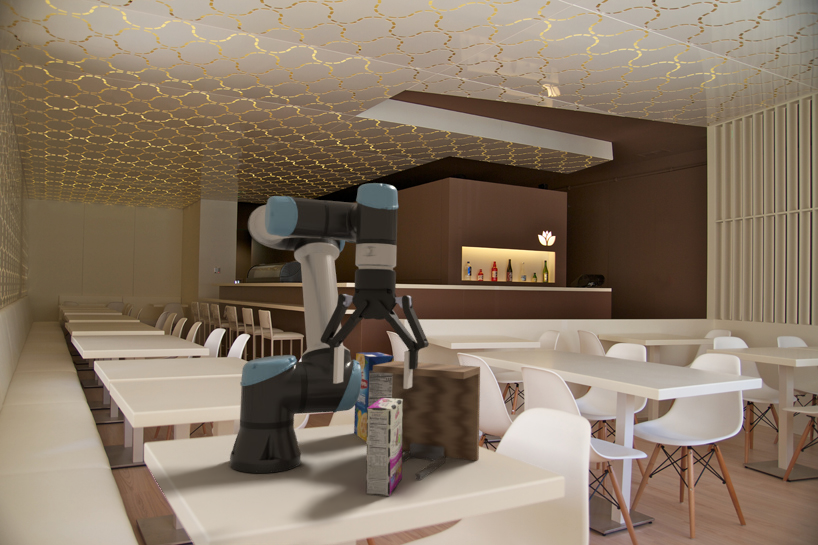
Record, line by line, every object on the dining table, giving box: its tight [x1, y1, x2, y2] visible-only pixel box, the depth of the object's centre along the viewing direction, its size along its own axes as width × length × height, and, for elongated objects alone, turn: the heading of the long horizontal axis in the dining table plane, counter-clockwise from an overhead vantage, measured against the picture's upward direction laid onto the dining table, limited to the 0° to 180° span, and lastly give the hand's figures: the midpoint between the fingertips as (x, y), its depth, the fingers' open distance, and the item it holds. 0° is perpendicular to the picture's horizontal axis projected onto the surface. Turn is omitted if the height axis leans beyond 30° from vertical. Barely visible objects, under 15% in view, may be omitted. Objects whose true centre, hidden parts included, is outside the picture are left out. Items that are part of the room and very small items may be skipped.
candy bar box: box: [365, 398, 403, 497], centre depth 112 cm, size 11×5×16 cm, turn 168°
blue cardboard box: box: [353, 351, 394, 443], centre depth 154 cm, size 7×11×22 cm, turn 23°
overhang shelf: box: [373, 360, 481, 481], centre depth 128 cm, size 22×21×22 cm
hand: (372, 385), depth 104 cm, fingers open, 13 cm apart
